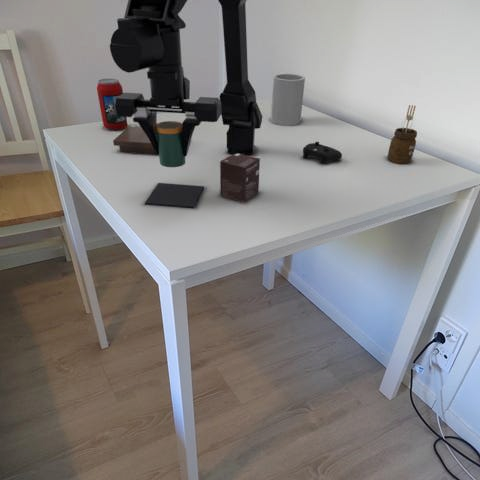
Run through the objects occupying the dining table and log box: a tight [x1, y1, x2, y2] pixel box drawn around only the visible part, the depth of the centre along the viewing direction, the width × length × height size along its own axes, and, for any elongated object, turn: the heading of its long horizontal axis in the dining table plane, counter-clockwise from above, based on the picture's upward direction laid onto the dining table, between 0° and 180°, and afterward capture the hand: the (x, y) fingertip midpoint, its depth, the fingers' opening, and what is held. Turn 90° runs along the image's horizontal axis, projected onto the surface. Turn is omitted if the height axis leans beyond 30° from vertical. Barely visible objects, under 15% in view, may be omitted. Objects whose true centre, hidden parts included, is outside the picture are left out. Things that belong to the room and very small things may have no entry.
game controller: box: [302, 141, 343, 164], centre depth 106 cm, size 10×5×6 cm
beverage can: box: [96, 78, 128, 131], centre depth 118 cm, size 7×7×12 cm
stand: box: [112, 125, 157, 155], centre depth 109 cm, size 14×12×3 cm
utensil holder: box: [387, 104, 418, 165], centre depth 103 cm, size 6×6×12 cm
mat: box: [144, 182, 205, 209], centre depth 88 cm, size 10×10×1 cm
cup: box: [270, 73, 306, 127], centre depth 127 cm, size 9×9×12 cm
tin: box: [156, 120, 186, 168], centre depth 81 cm, size 5×5×7 cm
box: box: [219, 153, 261, 203], centre depth 87 cm, size 6×6×7 cm
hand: (172, 154), depth 83 cm, fingers closed on tin, 5 cm apart
